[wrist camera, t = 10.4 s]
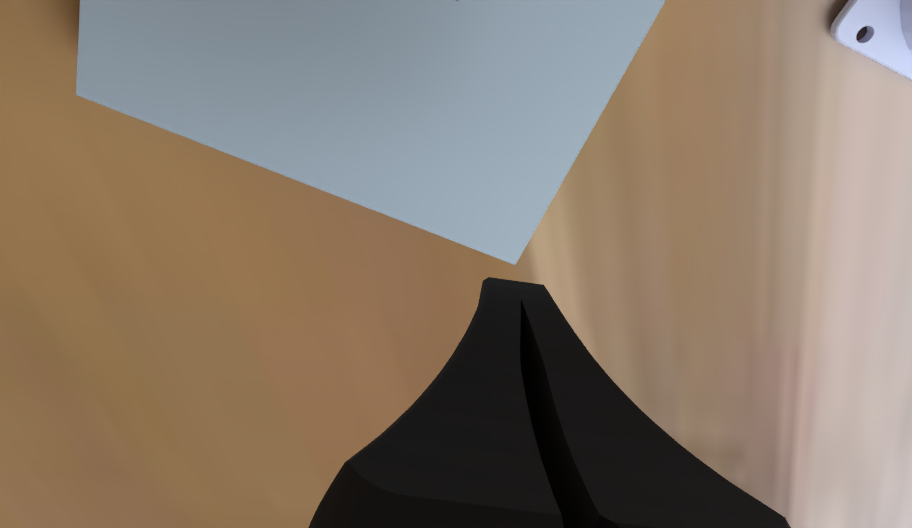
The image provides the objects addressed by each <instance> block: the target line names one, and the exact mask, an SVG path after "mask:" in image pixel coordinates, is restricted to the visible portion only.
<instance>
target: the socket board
mask: <svg viewBox="0 0 912 528" xmlns="http://www.w3.org/2000/svg"><path fill="white" fill-rule="evenodd" d="M664 2H665V0H80V14H79V37H78V60H77V83H76V95H78V96H80V97H83V98H86V99H88V100H91V101H93V102H96V103H99V104H101V105H104V106H106V107H109V108H111V109H114V110H117V111H119V112H122V113H124V114H127V115H130V116H132V117H135V118H137V119H140V120H142V121H145V122H148V123H150V124H153V125H155V126H158V127H160V128H163V129H166V130H168V131H171V132H173V133H176V134H179V135H181V136H184V137H186V138H189V139H191V140H194V141H197V142H199V143H202V144H204V145H207V146H210V147H212V148H215V149H217V150H220V151H222V152H225V153H228V154H230V155H233V156H235V157H238V158H240V159H243V160H246V161H248V162H251V163H253V164H256V165H259V166H261V167H264V168H266V169H269V170H271V171H274V172H277V173H279V174H282V175H284V176H287V177H290V178H292V179H295V180H297V181H300V182H302V183H305V184H308V185H310V186H313V187H315V188H318V189H320V190H323V191H326V192H328V193H331V194H333V195H336V196H339V197H341V198H344V199H346V200H349V201H351V202H354V203H357V204H359V205H362V206H364V207H367V208H370V209H372V210H375V211H377V212H380V213H382V214H385V215H388V216H390V217H393V218H395V219H398V220H400V221H403V222H406V223H408V224H411V225H413V226H416V227H419V228H421V229H424V230H426V231H429V232H431V233H434V234H437V235H439V236H442V237H444V238H447V239H450V240H452V241H455V242H457V243H460V244H462V245H465V246H468V247H470V248H473V249H475V250H478V251H480V252H483V253H486V254H488V255H491V256H493V257H496V258H499V259H501V260H504V261H506V262H509V263H511V264H514V265H515V264H516V263H517V261H518V259H519V257H520V256H521V254H522V252H523V250H524V248H525V247H526V245H527V243H528V241H529V240H530V238H531V236H532V234H533V233H534V231H535V229H536V227H537V226H538V224H539V222H540V220H541V219H542V217H543V215H544V213H545V212H546V210H547V208H548V206H549V204H550V203H551V201H552V199H553V197H554V196H555V194H556V192H557V190H558V189H559V187H560V185H561V183H562V182H563V180H564V178H565V176H566V175H567V173H568V171H569V169H570V168H571V166H572V164H573V162H574V160H575V159H576V157H577V155H578V153H579V152H580V150H581V148H582V146H583V145H584V143H585V141H586V139H587V138H588V136H589V134H590V132H591V131H592V129H593V127H594V125H595V124H596V122H597V120H598V118H599V116H600V115H601V113H602V111H603V109H604V108H605V106H606V104H607V102H608V101H609V99H610V97H611V95H612V94H613V92H614V90H615V88H616V87H617V85H618V83H619V81H620V80H621V78H622V76H623V74H624V72H625V71H626V69H627V67H628V65H629V64H630V62H631V60H632V58H633V57H634V55H635V53H636V51H637V50H638V48H639V46H640V44H641V43H642V41H643V39H644V37H645V36H646V34H647V32H648V30H649V28H650V27H651V25H652V23H653V21H654V20H655V18H656V16H657V14H658V13H659V11H660V9H661V7H662V6H663V4H664Z"/></svg>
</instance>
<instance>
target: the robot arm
mask: <svg viewBox="0 0 912 528" xmlns="http://www.w3.org/2000/svg"><path fill="white" fill-rule="evenodd" d="M865 26H866V27H867V32H866V34H865V36H864V37H863V38H862V39H860V40H858V41H857V40H856V35H857V33H858V31H859V30H860V29H861V28H862V27H865ZM830 33H831V37H832V38H833V39H834V40H835V41H836V42H838V43H840V44H842V45H844V46H846V47H848V48H850V49H852V50H854V51H856V52H858V53H860V54H862V55H864V56H865V57H867V58H869V59H871V60H873V61H875V62H877V63H879V64H881V65H883V66H885V67H887V68H889V69H891V70H893V71H895V72H896V73H898V74H900V75H902V76H904V77H906V78H908V79H910V80H912V0H849V1H848V2H847V3H846V5H845V6H844V7H843V9H842V10H841V11H840V13H839V14H838V16H837V17H836V18H835V20H834V22H833V23H832V25H831V30H830ZM309 528H791V527H790V526H789V524H788V522H787V521H786V519H785V517H783V516H782V515H780V514H779V513H777V512H775V511H774V510H772V509H771V508H769V507H768V506H766V505H765V504H763V503H762V502H760V501H758V500H757V499H755V498H754V497H752V496H751V495H749V494H748V493H746V492H744V491H743V490H741V489H740V488H738V487H737V486H735V485H734V484H732V483H731V482H729V481H728V480H726V479H725V478H723V477H722V476H721V475H719V474H718V473H717V472H715V471H714V470H713V469H711V468H710V467H709V466H707V465H706V464H704V463H703V462H702V461H700V460H699V459H698V458H696V457H695V456H694V455H693V454H691V453H690V452H689V451H687V450H686V449H685V448H684V447H682V446H681V445H680V444H679V443H677V442H676V441H675V440H674V439H673V438H672V437H670V436H669V435H668V434H667V433H666V432H665V431H664V430H662V429H661V428H660V427H659V426H658V425H657V424H655V423H654V422H653V421H652V420H651V419H650V418H649V417H648V416H647V415H646V414H645V413H643V412H642V411H641V410H640V409H639V408H638V407H637V406H636V405H635V404H634V403H633V402H632V401H631V400H630V399H629V398H628V397H627V395H626V394H625V393H624V392H623V391H622V390H621V389H620V388H619V387H618V386H617V385H616V384H615V383H614V382H613V381H612V380H611V378H610V377H609V376H608V375H607V374H606V373H605V371H604V370H603V369H602V368H601V367H600V365H599V364H598V363H597V362H596V360H595V359H594V358H593V357H592V355H591V354H590V353H589V352H588V350H587V349H586V347H585V346H584V345H583V343H582V342H581V340H580V339H579V338H578V336H577V335H576V334H575V332H574V331H573V329H572V328H571V326H570V325H569V323H568V322H567V320H566V319H565V317H564V316H563V314H562V313H561V311H560V310H559V308H558V306H557V305H556V303H555V302H554V300H553V298H552V297H551V295H550V294H549V292H548V291H547V289H546V288H545V286H544V285H540V284H533V283H526V282H519V281H512V280H505V279H498V278H491V277H489V278H487V279H485V280H484V281H483V283H482V288H481V294H480V299H479V304H478V307H477V310H476V312H475V314H474V317H473V319H472V321H471V323H470V325H469V327H468V329H467V331H466V333H465V335H464V336H463V338H462V340H461V341H460V343H459V345H458V346H457V348H456V350H455V351H454V353H453V354H452V356H451V357H450V359H449V360H448V362H447V363H446V365H445V366H444V367H443V369H442V370H441V371H440V373H439V374H438V375H437V377H436V378H435V379H434V381H433V382H432V383H431V384H430V385H429V386H428V388H427V389H426V390H425V391H424V392H423V393H422V395H421V396H420V397H419V398H418V399H417V400H416V401H415V402H414V403H413V405H412V406H411V407H410V408H409V409H408V410H407V411H406V412H404V413H403V414H402V415H401V416H400V417H399V418H398V419H397V420H396V421H395V422H394V423H393V424H392V425H391V426H390V427H389V428H387V429H386V430H385V431H384V432H383V433H382V434H381V435H380V436H378V437H377V438H376V439H375V440H373V441H372V442H371V443H370V444H368V445H367V446H366V447H364V448H363V449H362V450H360V451H359V452H358V453H357V454H355V455H354V456H353V457H351V458H350V459H349V460H347V461H346V462H345V463H344V465H343V466H342V468H341V469H340V471H339V473H338V474H337V476H336V477H335V479H334V480H333V482H332V484H331V485H330V487H329V489H328V490H327V492H326V494H325V495H324V497H323V499H322V501H321V502H320V504H319V506H318V508H317V510H316V512H315V514H314V516H313V519H312V521H311V523H310V525H309Z"/></svg>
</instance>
